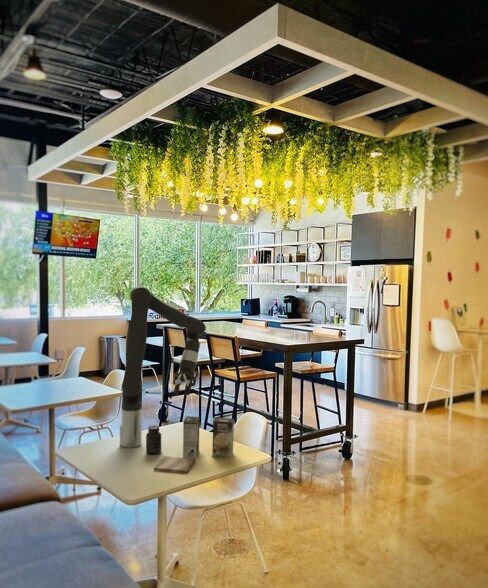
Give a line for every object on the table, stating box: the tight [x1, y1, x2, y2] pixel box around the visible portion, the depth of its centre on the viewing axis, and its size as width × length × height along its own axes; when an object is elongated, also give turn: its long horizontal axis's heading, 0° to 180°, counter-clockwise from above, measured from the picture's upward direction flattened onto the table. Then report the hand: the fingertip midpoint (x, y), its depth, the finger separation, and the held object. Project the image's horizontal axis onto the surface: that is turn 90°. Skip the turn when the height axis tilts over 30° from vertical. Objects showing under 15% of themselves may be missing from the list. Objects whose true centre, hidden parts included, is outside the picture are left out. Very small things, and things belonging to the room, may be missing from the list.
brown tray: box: [153, 455, 196, 474], centre depth 203 cm, size 14×13×1 cm
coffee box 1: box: [182, 415, 200, 459], centre depth 216 cm, size 9×6×16 cm
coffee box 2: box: [211, 416, 235, 459], centre depth 217 cm, size 9×6×16 cm
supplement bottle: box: [145, 425, 162, 456], centre depth 217 cm, size 7×7×12 cm
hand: (181, 394), depth 224 cm, fingers open, 8 cm apart
